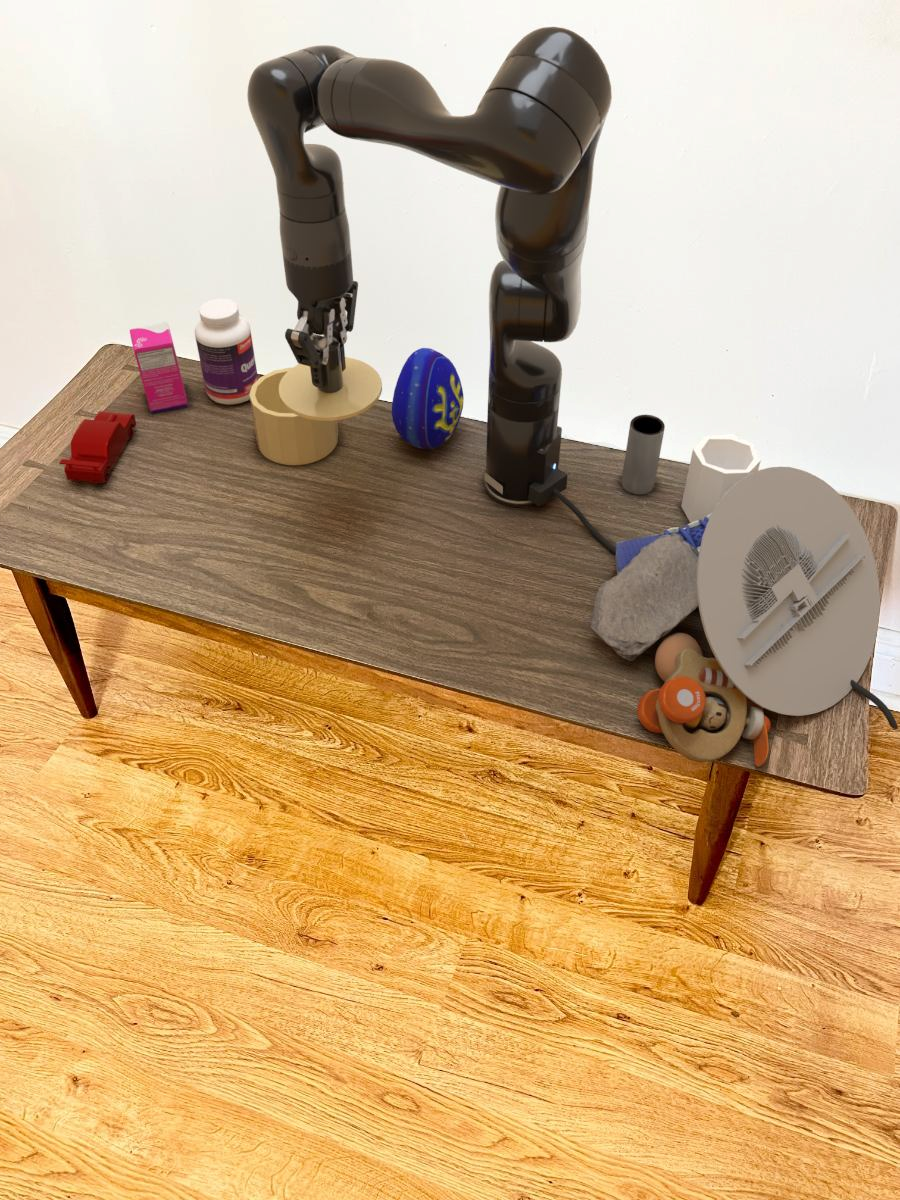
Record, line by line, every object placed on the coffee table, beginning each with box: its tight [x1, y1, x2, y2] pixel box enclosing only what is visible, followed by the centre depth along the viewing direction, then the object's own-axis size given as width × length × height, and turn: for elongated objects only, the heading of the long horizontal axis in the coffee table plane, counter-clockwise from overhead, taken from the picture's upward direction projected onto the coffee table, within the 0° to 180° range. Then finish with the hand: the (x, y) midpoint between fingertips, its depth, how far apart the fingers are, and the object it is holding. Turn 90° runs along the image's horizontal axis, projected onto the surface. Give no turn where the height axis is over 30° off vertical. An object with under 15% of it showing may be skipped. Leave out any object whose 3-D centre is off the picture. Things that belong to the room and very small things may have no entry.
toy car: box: [58, 410, 137, 485], centre depth 151 cm, size 14×6×5 cm, turn 172°
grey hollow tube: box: [621, 414, 666, 496], centre depth 145 cm, size 4×4×10 cm
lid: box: [278, 337, 383, 421], centre depth 129 cm, size 13×13×7 cm
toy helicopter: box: [636, 648, 771, 767], centre depth 118 cm, size 8×21×14 cm
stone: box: [588, 534, 699, 662], centre depth 126 cm, size 15×5×10 cm
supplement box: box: [129, 321, 189, 414], centre depth 158 cm, size 6×6×12 cm
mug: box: [680, 433, 762, 523], centre depth 142 cm, size 12×9×10 cm
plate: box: [697, 466, 881, 717], centre depth 120 cm, size 28×28×1 cm
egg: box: [654, 632, 704, 683], centre depth 123 cm, size 5×5×7 cm
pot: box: [249, 367, 339, 466], centre depth 153 cm, size 12×12×8 cm
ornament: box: [391, 347, 465, 450], centre depth 150 cm, size 11×9×15 cm
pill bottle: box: [194, 298, 259, 406], centre depth 159 cm, size 8×8×14 cm
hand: (329, 377), depth 130 cm, fingers closed on lid, 3 cm apart
